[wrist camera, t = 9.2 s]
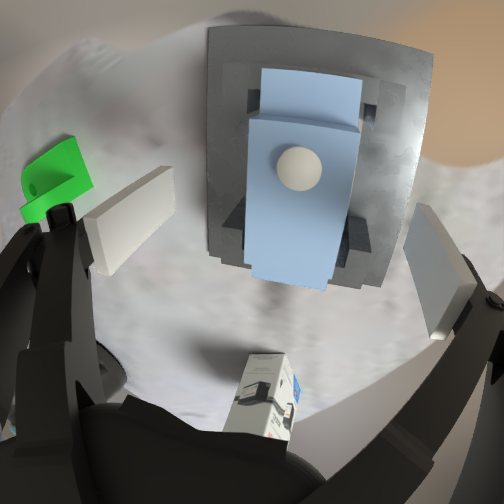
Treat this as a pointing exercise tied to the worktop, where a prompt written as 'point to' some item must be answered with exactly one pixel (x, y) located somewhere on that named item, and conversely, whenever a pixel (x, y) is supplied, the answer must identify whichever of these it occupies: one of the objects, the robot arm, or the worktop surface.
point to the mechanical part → (53, 180)
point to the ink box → (265, 398)
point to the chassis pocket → (369, 125)
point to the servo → (300, 175)
